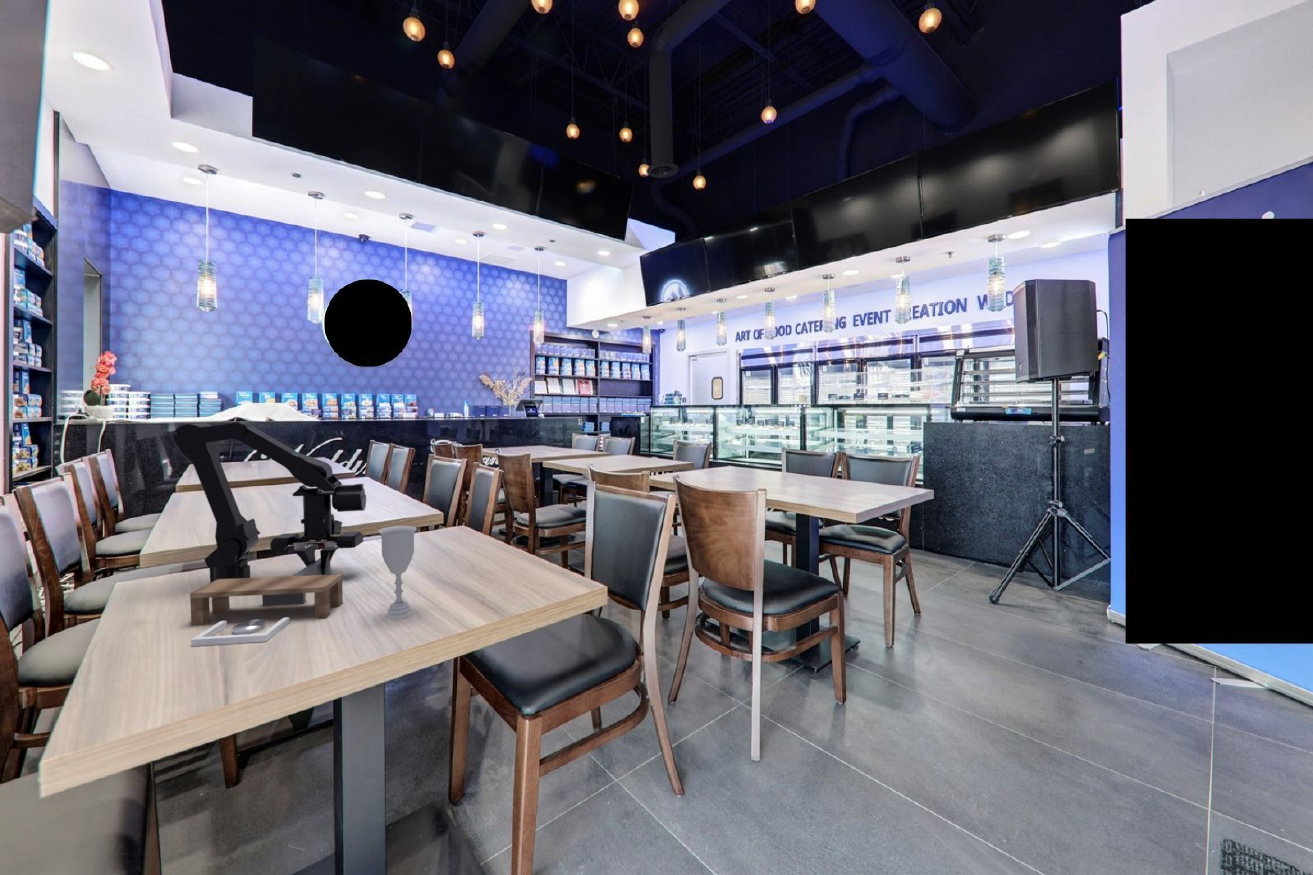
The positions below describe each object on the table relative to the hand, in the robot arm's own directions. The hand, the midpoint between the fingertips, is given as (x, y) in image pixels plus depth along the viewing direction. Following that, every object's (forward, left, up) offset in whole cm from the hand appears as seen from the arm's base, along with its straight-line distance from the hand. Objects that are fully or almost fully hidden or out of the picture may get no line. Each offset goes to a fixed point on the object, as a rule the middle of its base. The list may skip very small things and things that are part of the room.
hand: (319, 574), depth 126 cm
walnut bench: (0, -21, -1) cm, 21 cm away
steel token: (0, -28, -2) cm, 28 cm away
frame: (0, -30, -1) cm, 30 cm away
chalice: (+26, -25, -1) cm, 36 cm away
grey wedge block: (0, -6, -1) cm, 6 cm away
